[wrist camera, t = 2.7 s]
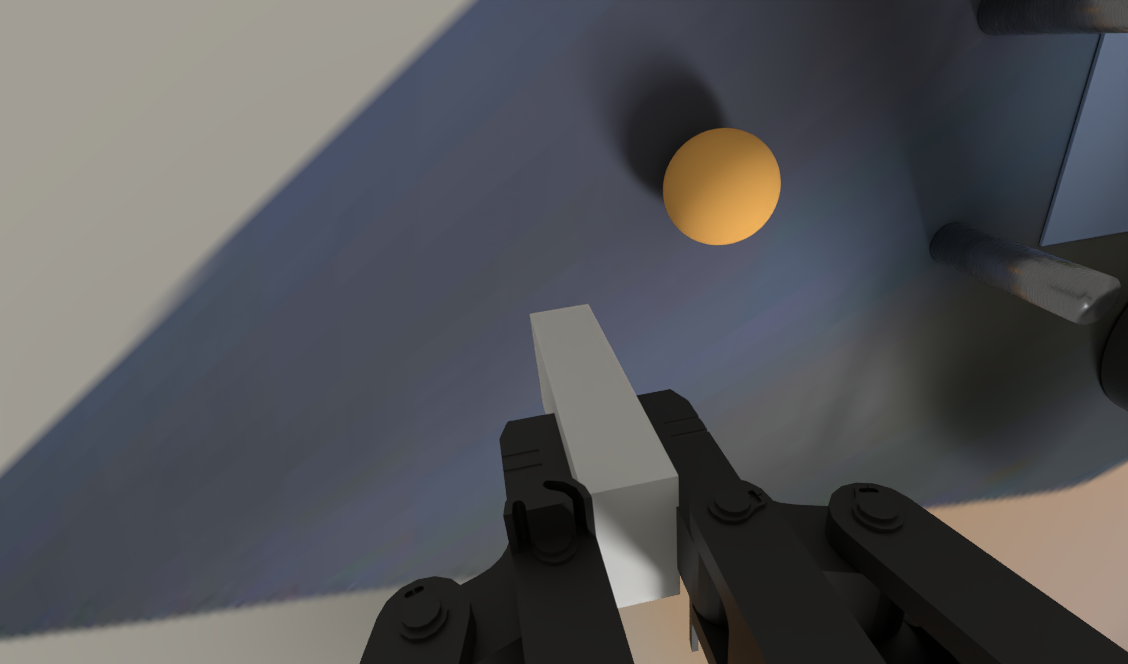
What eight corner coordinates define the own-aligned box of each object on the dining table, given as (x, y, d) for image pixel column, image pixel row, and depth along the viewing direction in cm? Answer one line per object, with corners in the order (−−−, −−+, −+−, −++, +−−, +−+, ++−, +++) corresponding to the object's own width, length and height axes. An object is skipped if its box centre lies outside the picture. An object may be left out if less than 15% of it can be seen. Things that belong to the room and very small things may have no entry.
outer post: (1016, 32, 30) (1221, 28, 22) (973, 37, 29) (1164, 35, 22) (1029, -24, 29) (1251, -51, 21) (984, -19, 28) (1191, -43, 20)
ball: (745, 219, 32) (798, 250, 27) (650, 233, 31) (686, 269, 26) (750, 114, 29) (809, 128, 24) (646, 128, 29) (686, 146, 24)
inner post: (963, 258, 36) (1110, 319, 28) (926, 264, 35) (1063, 328, 27) (972, 219, 34) (1128, 272, 26) (934, 225, 34) (1080, 280, 26)
